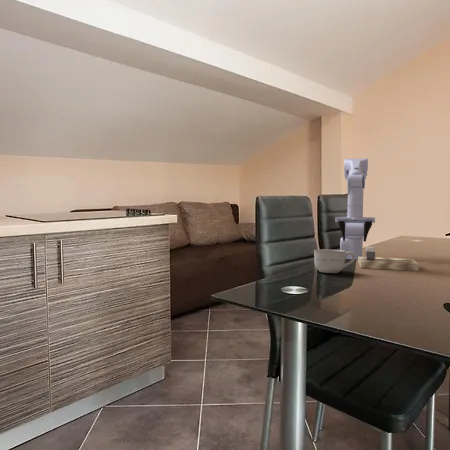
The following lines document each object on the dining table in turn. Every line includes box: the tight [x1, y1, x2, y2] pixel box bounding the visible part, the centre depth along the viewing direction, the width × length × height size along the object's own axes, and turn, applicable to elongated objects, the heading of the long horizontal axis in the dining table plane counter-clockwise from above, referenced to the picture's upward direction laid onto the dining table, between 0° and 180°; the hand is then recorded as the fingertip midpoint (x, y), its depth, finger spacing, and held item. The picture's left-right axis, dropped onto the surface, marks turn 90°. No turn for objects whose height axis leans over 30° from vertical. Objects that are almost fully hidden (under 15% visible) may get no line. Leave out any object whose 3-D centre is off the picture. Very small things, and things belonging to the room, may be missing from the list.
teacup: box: [313, 248, 356, 274], centre depth 142 cm, size 14×11×8 cm
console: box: [357, 256, 420, 271], centre depth 154 cm, size 20×12×3 cm, turn 76°
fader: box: [365, 246, 376, 260], centre depth 155 cm, size 3×4×4 cm
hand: (354, 240), depth 156 cm, fingers open, 7 cm apart
